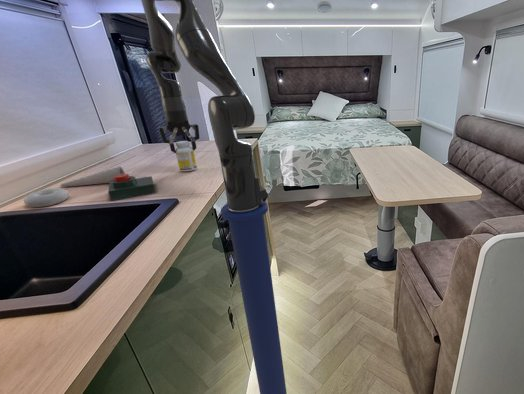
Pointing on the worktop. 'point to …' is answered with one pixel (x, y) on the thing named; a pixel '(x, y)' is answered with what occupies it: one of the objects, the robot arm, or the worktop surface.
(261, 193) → the robot arm
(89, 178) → the long tapered cone
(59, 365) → the worktop surface
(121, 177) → the button
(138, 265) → the worktop surface
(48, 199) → the donut
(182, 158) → the pill bottle
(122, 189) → the control block
